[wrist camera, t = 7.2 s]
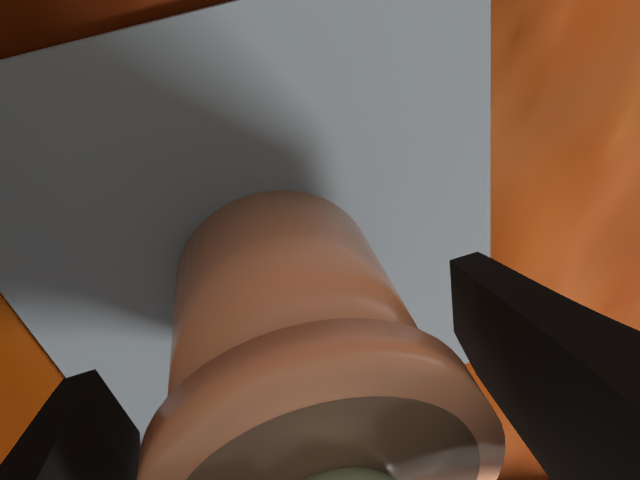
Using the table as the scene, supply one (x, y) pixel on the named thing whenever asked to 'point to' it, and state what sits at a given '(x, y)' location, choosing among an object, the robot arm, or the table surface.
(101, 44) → the slate mat
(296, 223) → the terracotta pot
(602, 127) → the table surface
